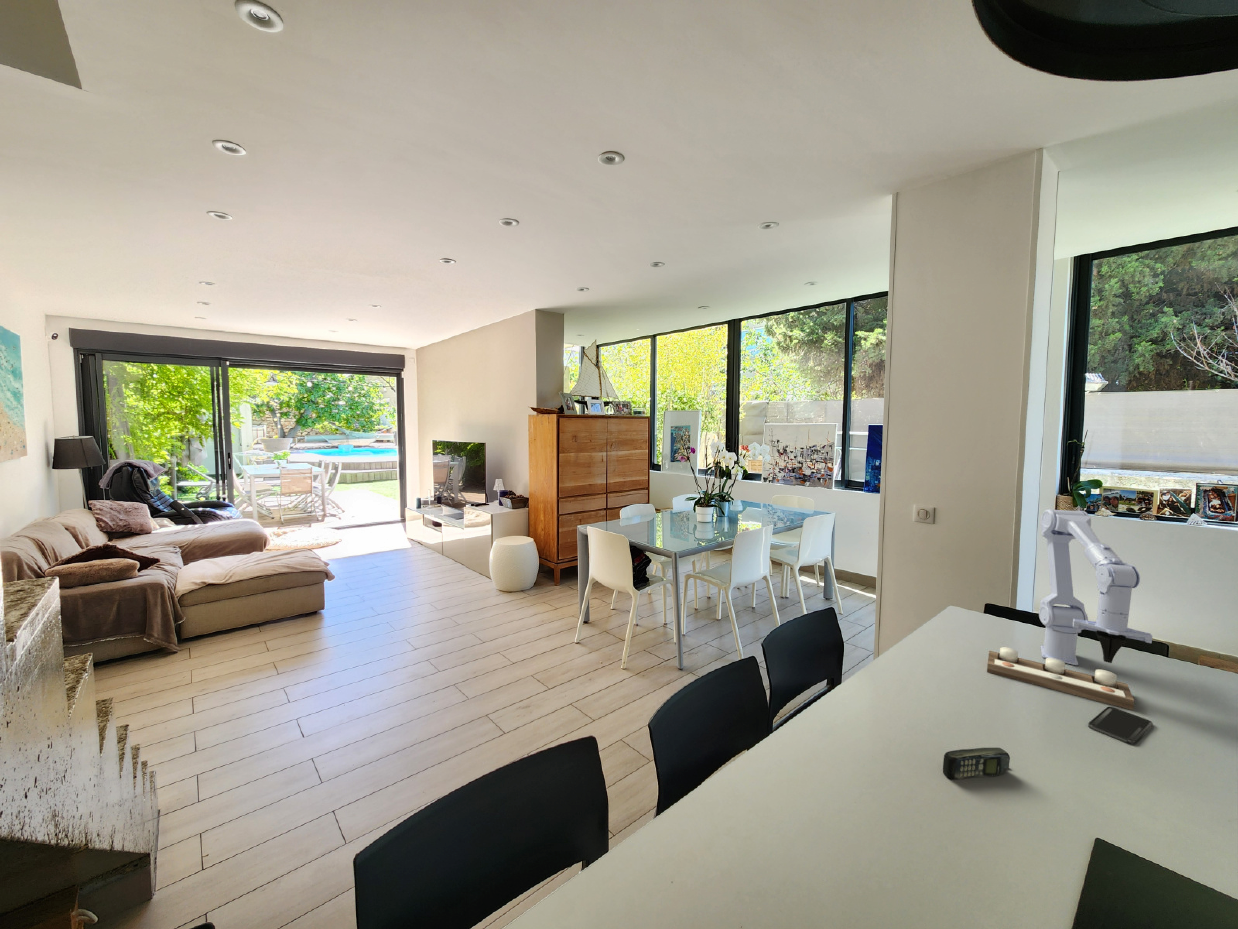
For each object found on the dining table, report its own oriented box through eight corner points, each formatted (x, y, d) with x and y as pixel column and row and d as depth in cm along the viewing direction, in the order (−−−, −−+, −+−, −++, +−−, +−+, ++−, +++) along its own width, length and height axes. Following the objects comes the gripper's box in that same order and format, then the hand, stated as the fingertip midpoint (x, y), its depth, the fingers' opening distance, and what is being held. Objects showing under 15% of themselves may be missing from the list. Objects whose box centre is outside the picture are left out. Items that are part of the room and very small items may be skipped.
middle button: (1044, 665, 140) (1045, 656, 140) (1063, 669, 138) (1064, 660, 138) (1045, 670, 137) (1046, 661, 137) (1064, 675, 135) (1065, 666, 134)
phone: (1086, 724, 116) (1109, 705, 124) (1086, 729, 116) (1108, 709, 124) (1134, 743, 110) (1154, 722, 117) (1133, 748, 110) (1154, 726, 117)
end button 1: (1093, 676, 134) (1094, 667, 134) (1114, 681, 132) (1115, 672, 131) (1095, 683, 131) (1096, 673, 131) (1116, 688, 129) (1118, 678, 128)
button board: (988, 658, 149) (989, 650, 149) (1126, 693, 131) (1127, 684, 131) (986, 672, 141) (987, 663, 141) (1133, 710, 123) (1134, 700, 123)
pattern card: (994, 659, 143) (994, 658, 143) (1123, 691, 127) (1123, 690, 127) (994, 664, 140) (994, 663, 140) (1125, 697, 124) (1125, 696, 124)
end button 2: (999, 654, 146) (1000, 645, 146) (1017, 658, 144) (1017, 650, 144) (999, 659, 143) (1000, 650, 143) (1017, 663, 141) (1018, 655, 141)
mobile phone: (952, 760, 98) (1019, 751, 100) (940, 749, 101) (1005, 741, 103) (950, 783, 98) (1017, 774, 100) (938, 773, 101) (1003, 764, 103)
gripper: (1076, 608, 131) (1071, 658, 132) (1157, 622, 122) (1150, 676, 123) (1074, 600, 136) (1069, 648, 138) (1151, 614, 127) (1144, 665, 129)
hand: (1107, 661), depth 131 cm, fingers closed
